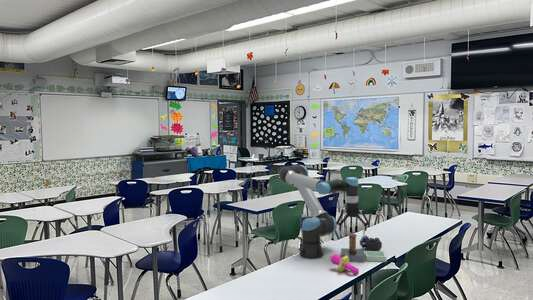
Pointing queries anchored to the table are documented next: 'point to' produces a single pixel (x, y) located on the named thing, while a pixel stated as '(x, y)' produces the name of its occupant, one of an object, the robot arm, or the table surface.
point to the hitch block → (353, 255)
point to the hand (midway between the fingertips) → (352, 235)
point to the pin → (352, 243)
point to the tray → (375, 256)
